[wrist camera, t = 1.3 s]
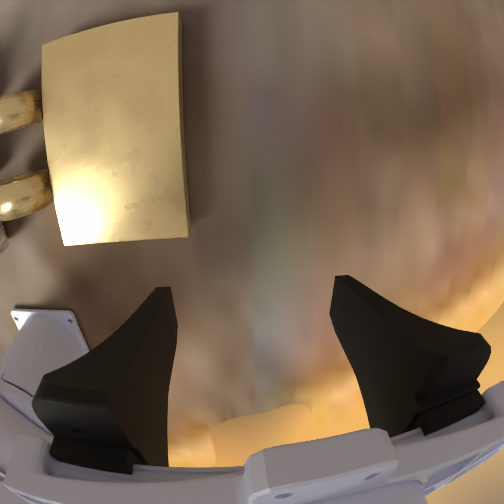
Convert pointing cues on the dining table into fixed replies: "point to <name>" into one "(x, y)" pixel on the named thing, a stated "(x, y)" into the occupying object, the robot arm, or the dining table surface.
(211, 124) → the dining table surface
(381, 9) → the dining table surface
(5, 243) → the steel leaf
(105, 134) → the plate
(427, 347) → the robot arm
